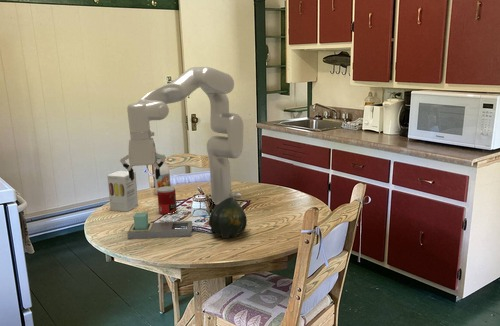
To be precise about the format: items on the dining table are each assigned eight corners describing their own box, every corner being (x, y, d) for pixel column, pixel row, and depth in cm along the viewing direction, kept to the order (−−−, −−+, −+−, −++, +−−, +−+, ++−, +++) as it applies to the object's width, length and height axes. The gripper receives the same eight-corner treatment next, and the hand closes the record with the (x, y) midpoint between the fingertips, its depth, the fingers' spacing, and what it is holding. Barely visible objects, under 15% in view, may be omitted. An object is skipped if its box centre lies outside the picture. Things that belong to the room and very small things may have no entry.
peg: (149, 231, 173) (147, 212, 171) (147, 235, 169) (145, 216, 167) (137, 231, 173) (136, 212, 171) (135, 236, 169) (133, 216, 167)
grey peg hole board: (192, 226, 177) (192, 220, 176) (190, 236, 167) (190, 229, 166) (133, 229, 176) (132, 222, 175) (127, 239, 166) (127, 232, 165)
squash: (205, 230, 158) (231, 198, 158) (199, 218, 172) (222, 188, 172) (235, 251, 163) (259, 219, 163) (226, 237, 177) (249, 208, 177)
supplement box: (109, 210, 199) (106, 175, 195) (121, 204, 207) (118, 170, 203) (128, 212, 196) (124, 176, 192) (139, 205, 204) (135, 171, 200)
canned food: (173, 215, 190) (171, 191, 188) (156, 214, 192) (154, 190, 189) (179, 209, 198) (177, 186, 195) (162, 208, 199) (161, 185, 197)
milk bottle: (153, 194, 220) (149, 156, 215) (160, 190, 227) (157, 153, 223) (166, 195, 218) (163, 157, 213) (173, 191, 225) (171, 153, 220)
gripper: (164, 132, 168) (168, 175, 173) (119, 135, 168) (124, 177, 172) (162, 136, 161) (166, 180, 165) (115, 139, 160) (120, 183, 165)
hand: (145, 178), depth 169 cm, fingers open, 9 cm apart
